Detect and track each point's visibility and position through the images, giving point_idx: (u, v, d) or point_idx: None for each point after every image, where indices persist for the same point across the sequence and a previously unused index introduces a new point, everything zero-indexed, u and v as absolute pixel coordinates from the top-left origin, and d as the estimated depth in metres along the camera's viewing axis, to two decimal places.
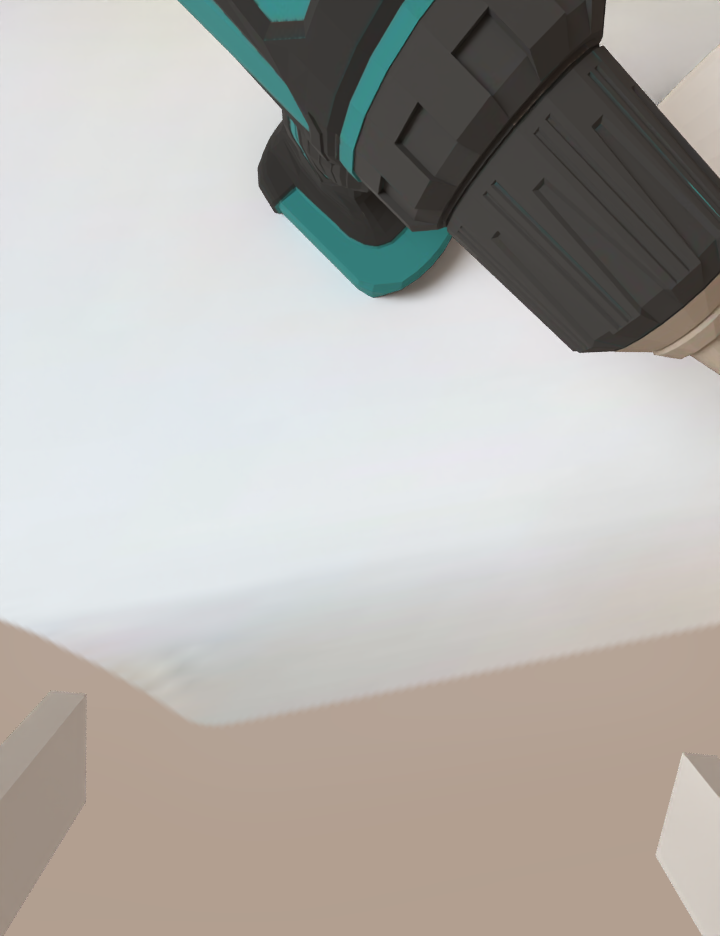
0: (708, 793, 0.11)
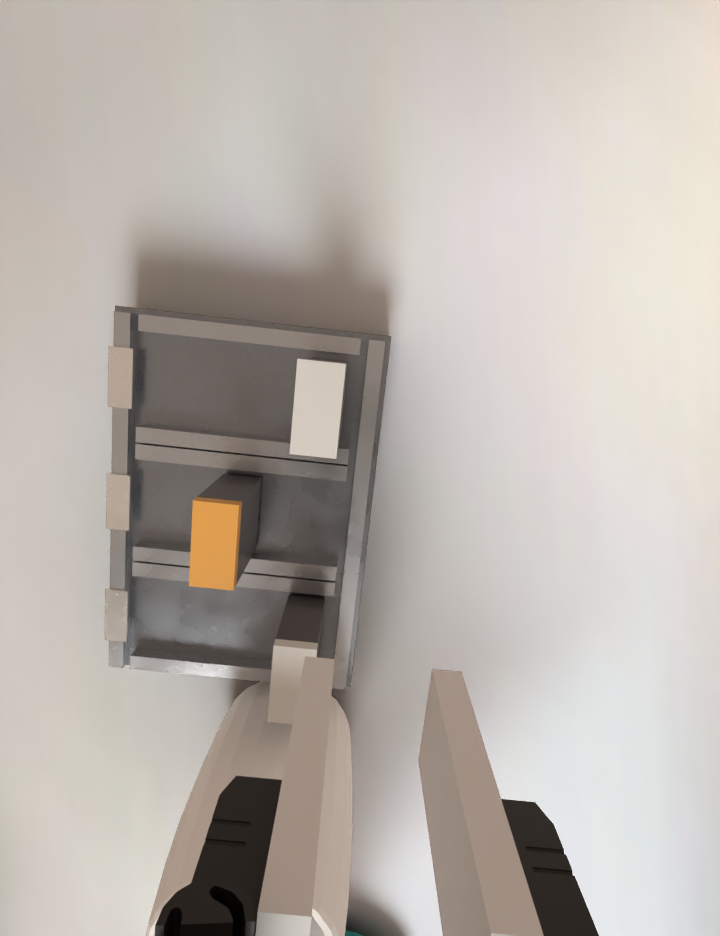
0: (436, 698, 0.13)
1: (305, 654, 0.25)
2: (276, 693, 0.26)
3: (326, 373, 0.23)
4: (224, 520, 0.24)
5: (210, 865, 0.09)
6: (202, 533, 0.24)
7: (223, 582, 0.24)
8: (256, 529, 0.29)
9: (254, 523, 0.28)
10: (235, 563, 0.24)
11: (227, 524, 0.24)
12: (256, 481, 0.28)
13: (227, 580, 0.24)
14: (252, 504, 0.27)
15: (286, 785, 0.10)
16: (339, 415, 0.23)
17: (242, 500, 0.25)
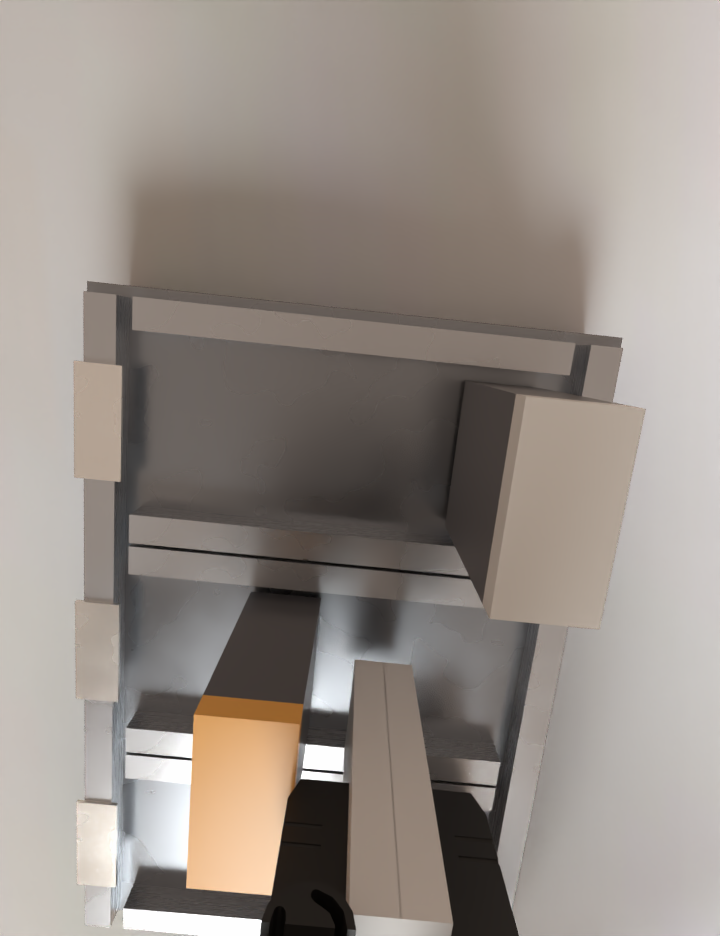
0: (383, 690, 0.13)
1: None
2: None
3: (595, 432, 0.09)
4: (266, 756, 0.10)
5: (289, 868, 0.09)
6: (216, 783, 0.11)
7: (263, 879, 0.11)
8: None
9: (311, 690, 0.15)
10: None
11: (273, 764, 0.10)
12: (315, 613, 0.15)
13: (271, 876, 0.11)
14: (311, 667, 0.14)
15: (357, 788, 0.10)
16: (617, 531, 0.09)
17: (303, 697, 0.11)
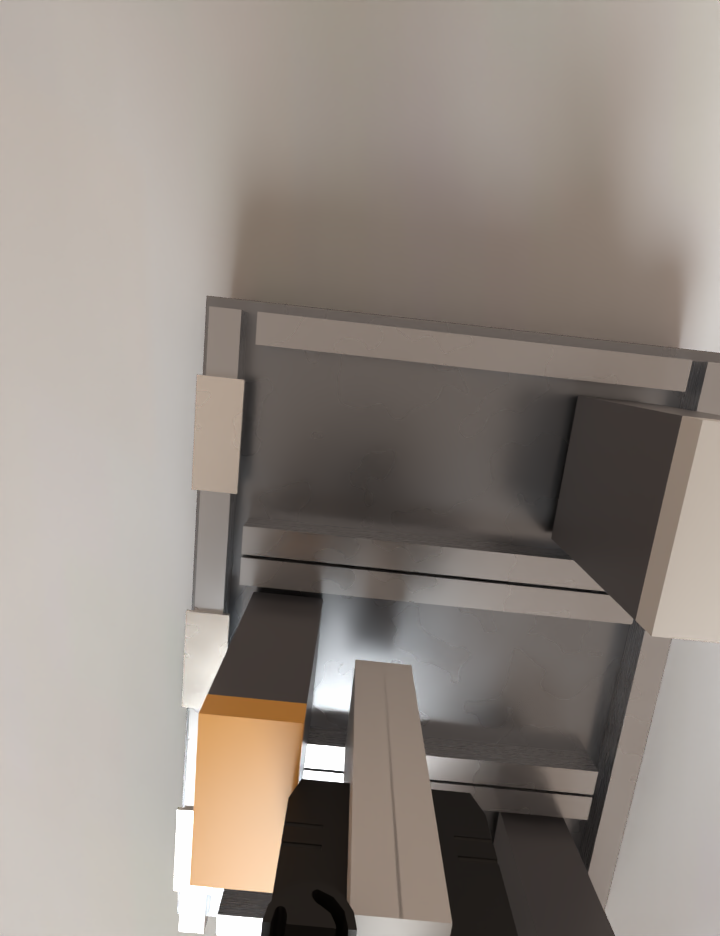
0: (382, 690, 0.13)
1: None
2: None
3: None
4: (270, 754, 0.11)
5: (290, 868, 0.09)
6: (220, 781, 0.11)
7: (266, 877, 0.11)
8: (313, 691, 0.16)
9: None
10: None
11: (276, 763, 0.11)
12: (317, 613, 0.15)
13: (274, 874, 0.11)
14: (314, 667, 0.14)
15: (357, 788, 0.10)
16: None
17: (306, 696, 0.11)
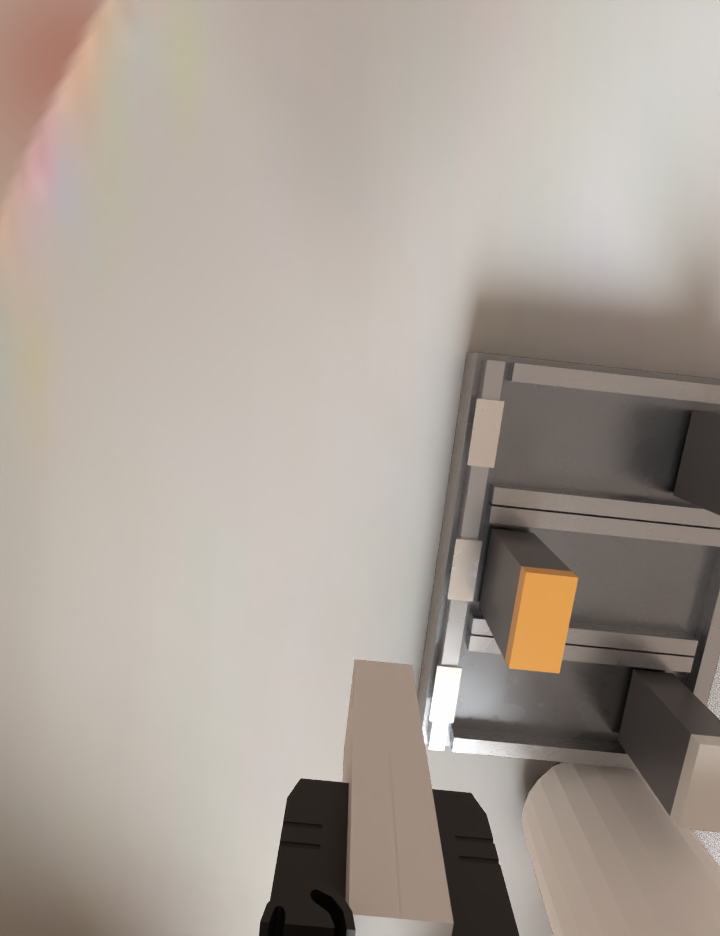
0: (383, 690, 0.13)
1: None
2: (693, 796, 0.22)
3: None
4: (559, 594, 0.21)
5: (288, 867, 0.09)
6: (532, 609, 0.21)
7: (549, 663, 0.21)
8: None
9: None
10: (563, 642, 0.21)
11: (562, 599, 0.21)
12: (537, 538, 0.25)
13: (554, 662, 0.21)
14: None
15: (356, 788, 0.10)
16: None
17: (569, 569, 0.21)
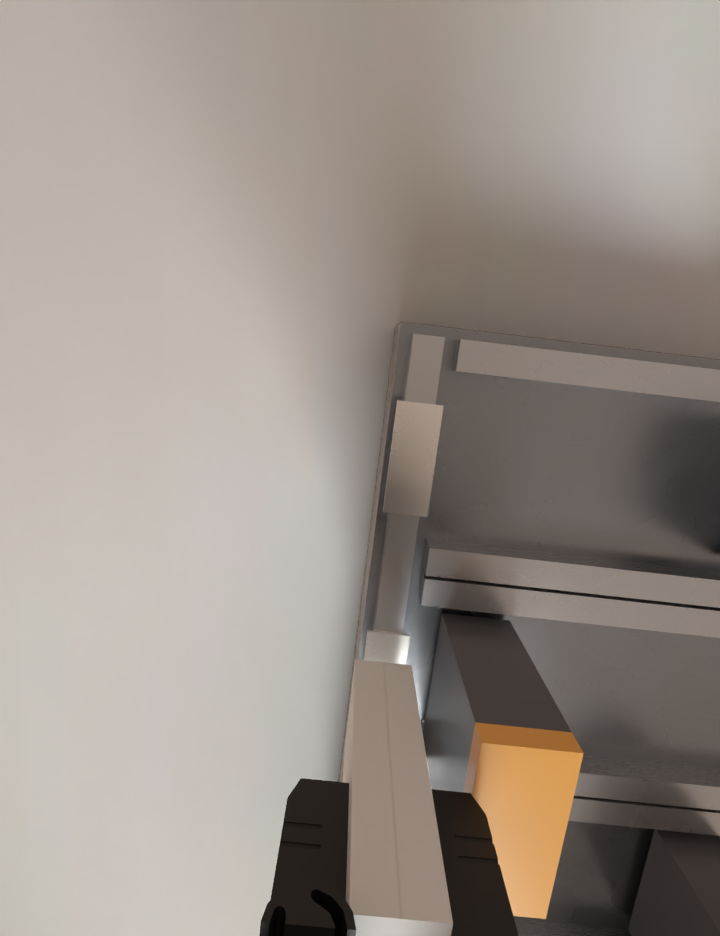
0: (383, 690, 0.13)
1: None
2: None
3: None
4: (546, 783, 0.11)
5: (289, 868, 0.09)
6: (494, 809, 0.11)
7: (527, 902, 0.11)
8: None
9: None
10: None
11: (552, 791, 0.11)
12: (515, 636, 0.15)
13: (535, 899, 0.11)
14: None
15: (357, 788, 0.10)
16: None
17: (565, 724, 0.11)
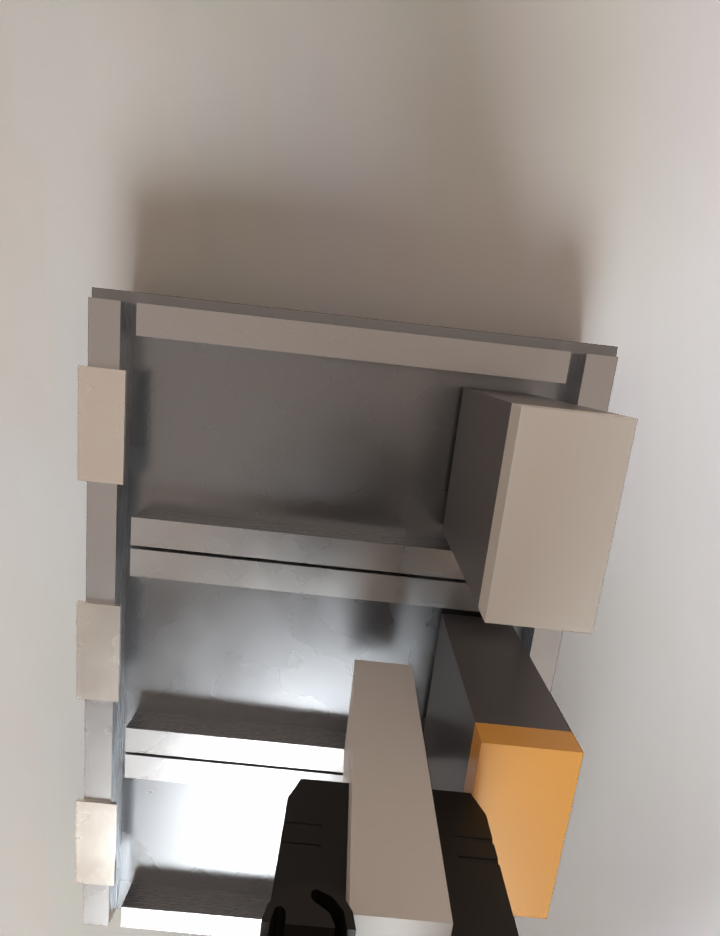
0: (383, 690, 0.13)
1: None
2: None
3: (588, 441, 0.09)
4: (547, 783, 0.11)
5: (289, 867, 0.09)
6: (494, 809, 0.11)
7: (528, 902, 0.11)
8: None
9: None
10: None
11: (552, 791, 0.11)
12: (515, 636, 0.15)
13: (536, 899, 0.11)
14: None
15: (357, 788, 0.10)
16: (610, 538, 0.10)
17: (566, 724, 0.11)
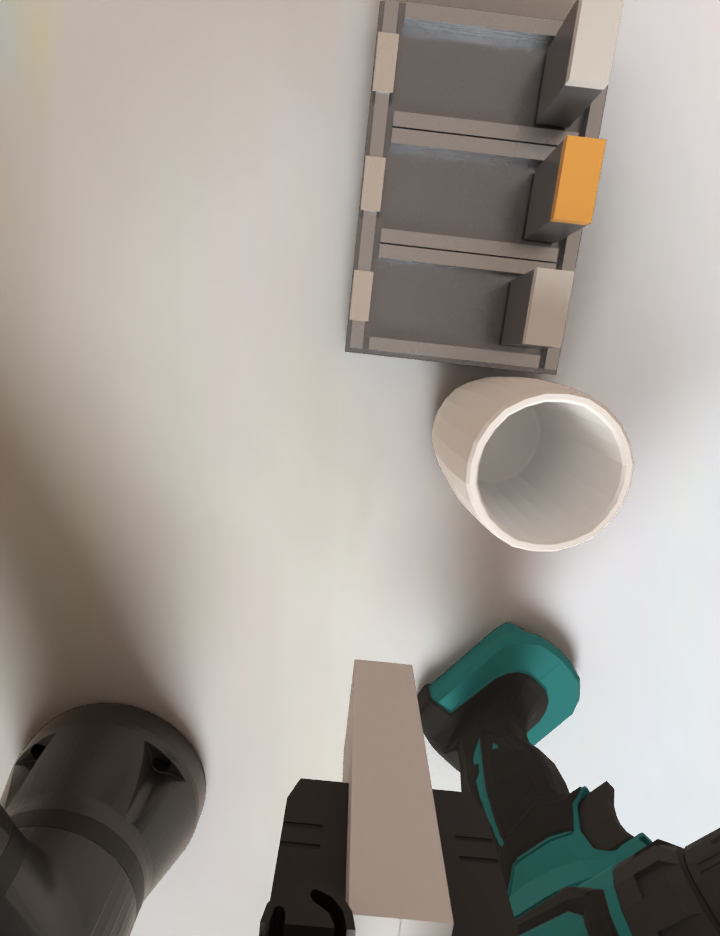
0: (383, 690, 0.13)
1: (564, 276, 0.29)
2: (535, 315, 0.30)
3: (607, 1, 0.27)
4: (592, 154, 0.28)
5: (288, 868, 0.09)
6: (572, 166, 0.28)
7: (584, 214, 0.29)
8: None
9: None
10: (594, 198, 0.29)
11: (594, 158, 0.28)
12: None
13: (587, 213, 0.29)
14: None
15: (356, 788, 0.10)
16: (615, 41, 0.27)
17: None
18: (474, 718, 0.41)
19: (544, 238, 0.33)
